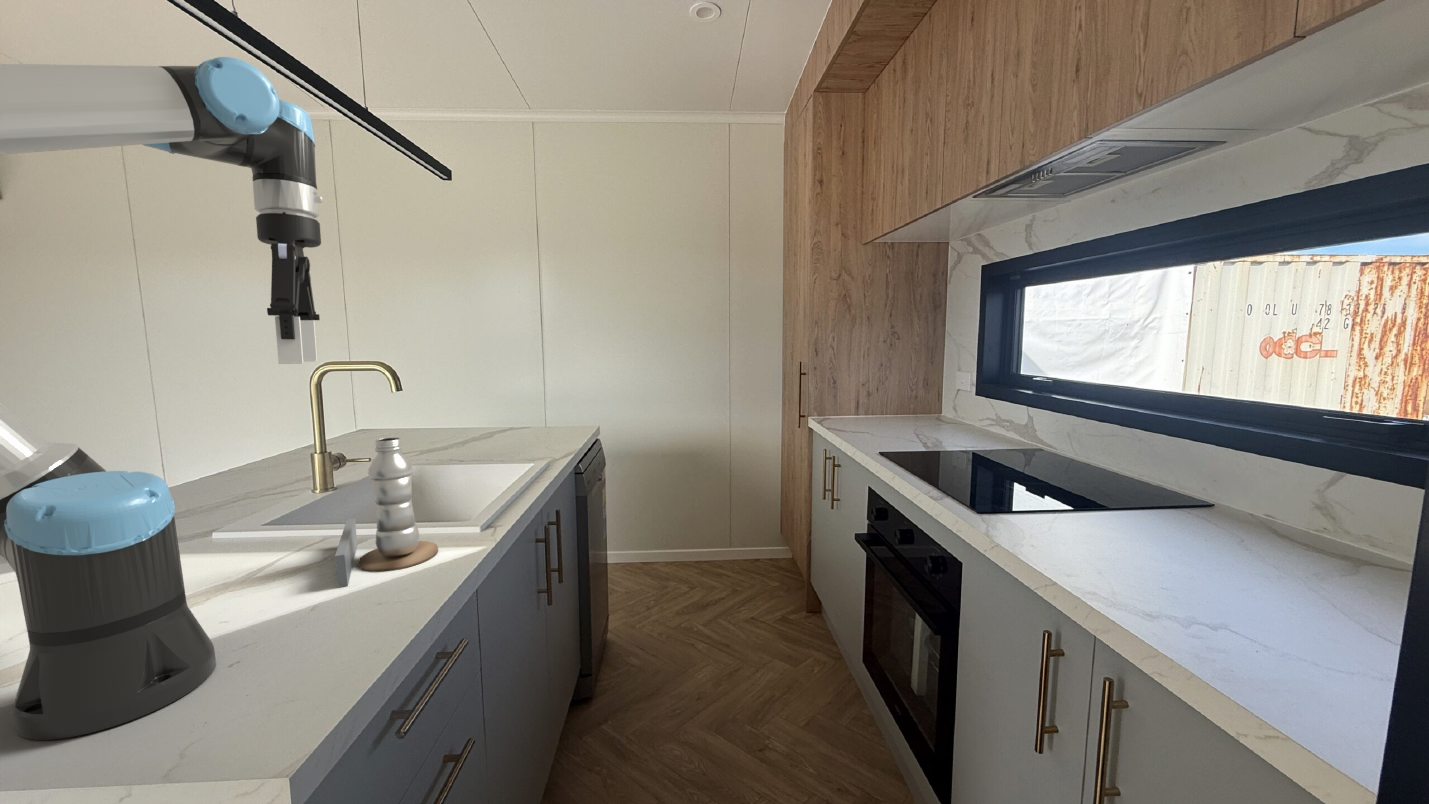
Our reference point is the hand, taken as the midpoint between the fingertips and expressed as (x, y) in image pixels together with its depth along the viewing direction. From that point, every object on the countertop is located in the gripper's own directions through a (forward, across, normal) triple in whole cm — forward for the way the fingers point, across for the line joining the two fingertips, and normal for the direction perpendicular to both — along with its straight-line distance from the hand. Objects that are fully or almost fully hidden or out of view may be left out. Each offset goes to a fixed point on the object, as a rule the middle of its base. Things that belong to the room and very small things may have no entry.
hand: (299, 362), depth 86 cm
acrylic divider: (+34, +6, -4) cm, 35 cm away
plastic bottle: (+33, +5, -11) cm, 36 cm away
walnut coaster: (+34, +5, -11) cm, 36 cm away
